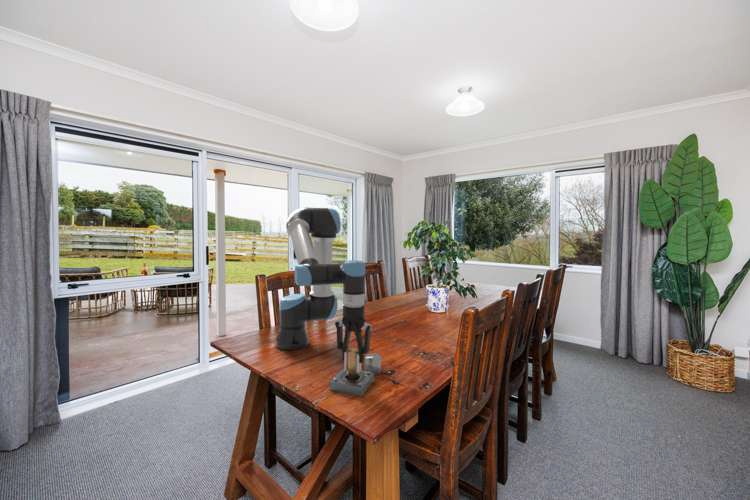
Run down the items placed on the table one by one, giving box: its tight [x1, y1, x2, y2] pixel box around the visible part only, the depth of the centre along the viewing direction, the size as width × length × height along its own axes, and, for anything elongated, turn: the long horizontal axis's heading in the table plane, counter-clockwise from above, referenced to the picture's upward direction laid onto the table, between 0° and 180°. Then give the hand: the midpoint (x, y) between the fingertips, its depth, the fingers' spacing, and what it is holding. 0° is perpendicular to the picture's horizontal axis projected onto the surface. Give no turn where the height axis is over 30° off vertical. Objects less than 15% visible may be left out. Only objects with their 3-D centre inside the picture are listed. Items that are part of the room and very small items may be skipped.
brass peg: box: [347, 347, 359, 380], centre depth 114 cm, size 4×4×10 cm
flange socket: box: [329, 367, 375, 397], centre depth 114 cm, size 12×12×4 cm
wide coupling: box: [363, 352, 382, 376], centre depth 125 cm, size 6×6×6 cm
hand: (352, 370), depth 114 cm, fingers closed on brass peg, 4 cm apart
